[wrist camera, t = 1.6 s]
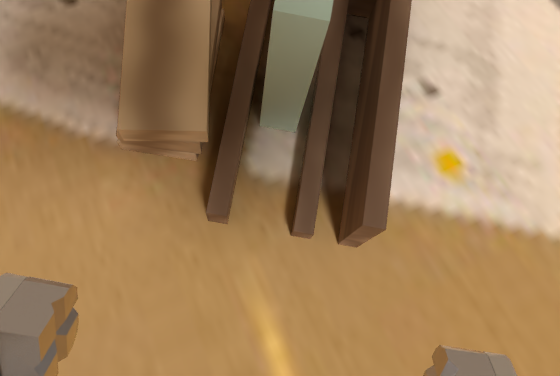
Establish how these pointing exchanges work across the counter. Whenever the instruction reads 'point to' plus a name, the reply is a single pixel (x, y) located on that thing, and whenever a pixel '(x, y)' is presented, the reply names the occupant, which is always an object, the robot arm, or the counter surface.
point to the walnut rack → (329, 119)
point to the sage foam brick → (292, 59)
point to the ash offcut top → (165, 71)
